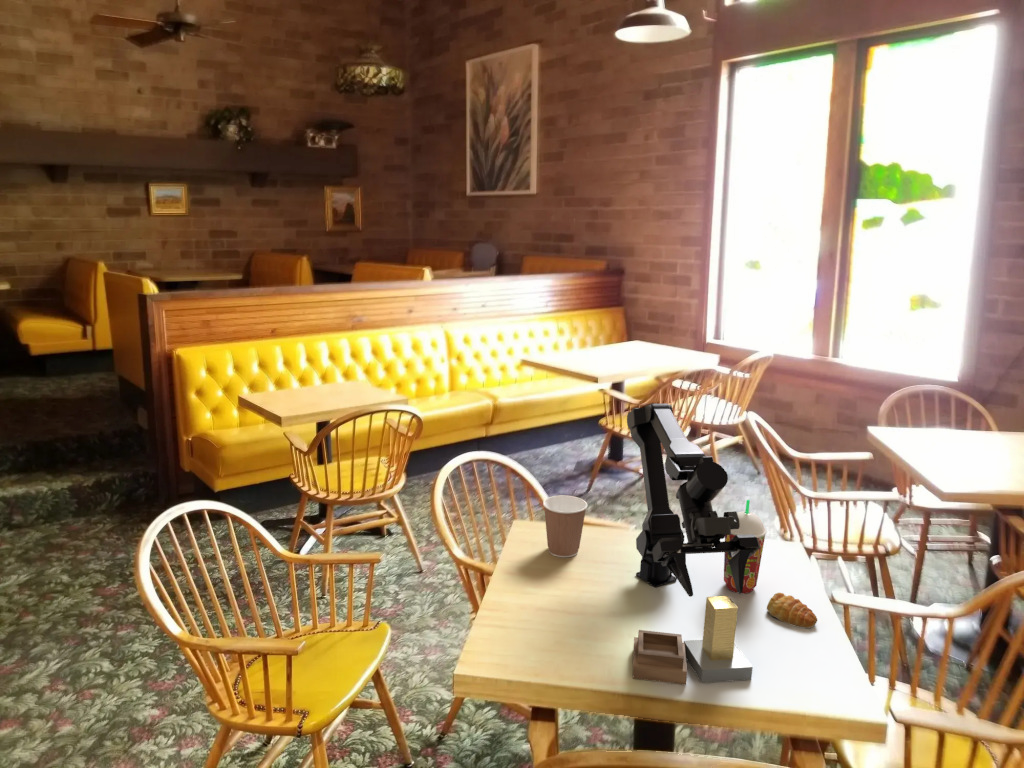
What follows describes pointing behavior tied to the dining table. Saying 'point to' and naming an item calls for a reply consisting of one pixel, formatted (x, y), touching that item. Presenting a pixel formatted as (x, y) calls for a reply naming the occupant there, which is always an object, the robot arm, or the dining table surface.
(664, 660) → the walnut holder
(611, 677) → the dining table surface
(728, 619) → the brass bar
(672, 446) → the robot arm
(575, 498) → the coffee cup
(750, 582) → the smoothie
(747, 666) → the slate plinth
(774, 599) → the pastry
